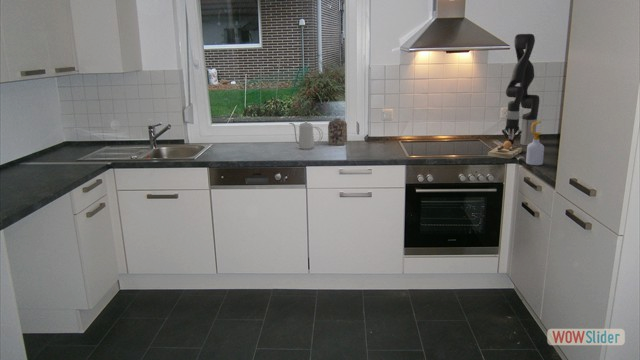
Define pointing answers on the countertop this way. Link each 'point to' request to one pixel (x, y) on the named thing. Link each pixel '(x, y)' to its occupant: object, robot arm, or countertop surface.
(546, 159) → the countertop surface
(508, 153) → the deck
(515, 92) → the robot arm
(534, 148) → the soap bottle
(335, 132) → the decorative jar
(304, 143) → the coffeepot
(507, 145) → the ball
